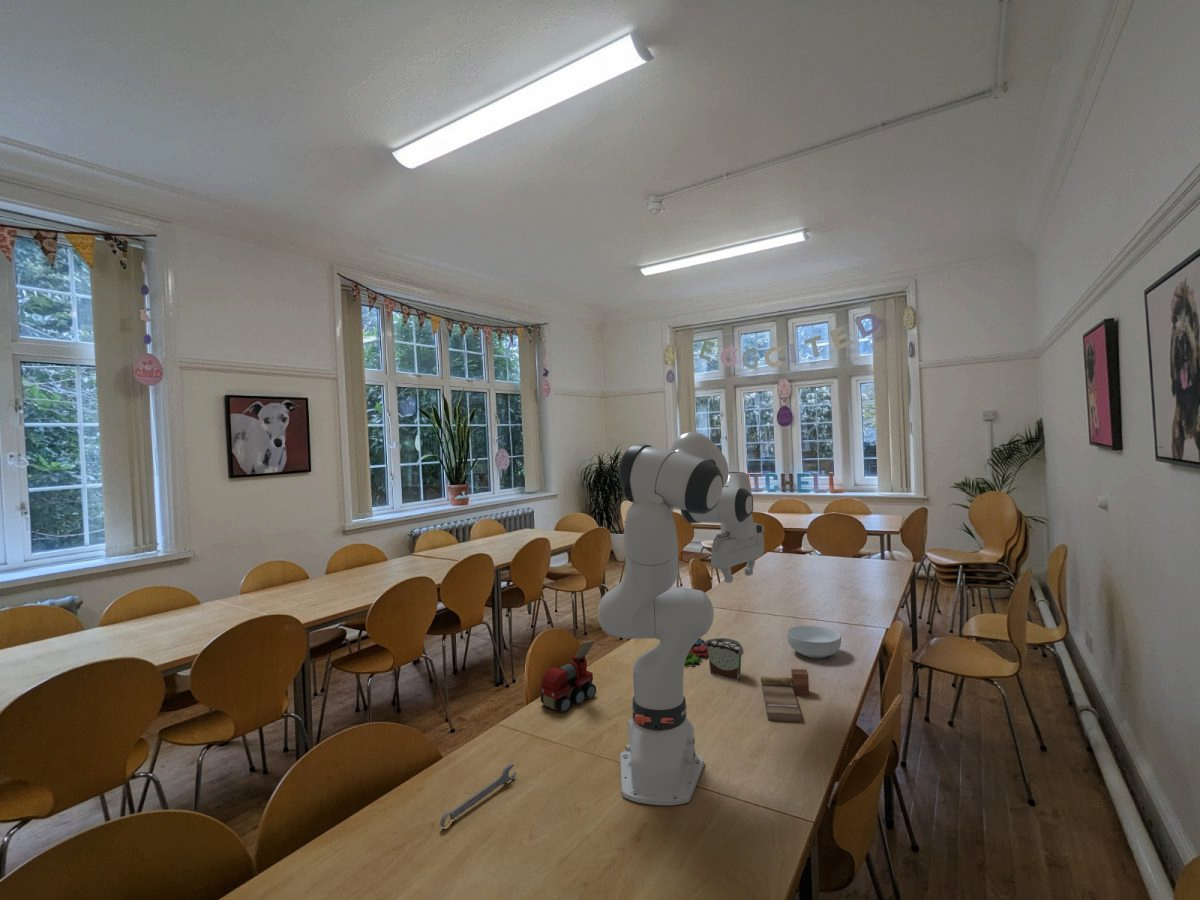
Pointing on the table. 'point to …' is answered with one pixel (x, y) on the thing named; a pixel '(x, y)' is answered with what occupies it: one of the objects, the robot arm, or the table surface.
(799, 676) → the toy wooden hammer
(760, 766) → the table surface
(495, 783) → the combination wrench
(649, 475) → the robot arm
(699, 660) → the gear puzzle
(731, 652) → the food container
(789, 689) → the walnut board
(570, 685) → the toy fire truck
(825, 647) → the cereal bowl
